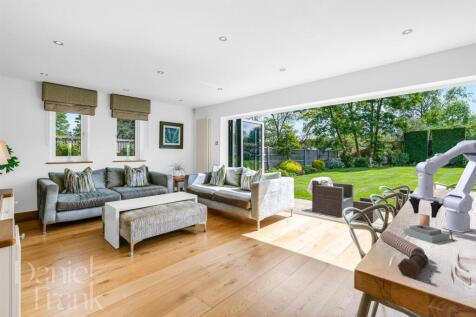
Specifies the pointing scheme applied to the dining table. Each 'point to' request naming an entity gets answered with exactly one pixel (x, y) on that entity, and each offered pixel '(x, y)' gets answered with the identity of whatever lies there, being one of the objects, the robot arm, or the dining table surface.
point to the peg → (425, 220)
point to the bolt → (413, 265)
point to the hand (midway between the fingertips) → (424, 215)
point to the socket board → (426, 233)
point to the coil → (400, 243)
